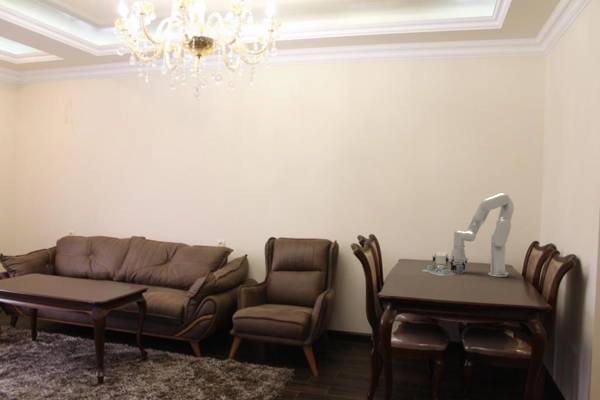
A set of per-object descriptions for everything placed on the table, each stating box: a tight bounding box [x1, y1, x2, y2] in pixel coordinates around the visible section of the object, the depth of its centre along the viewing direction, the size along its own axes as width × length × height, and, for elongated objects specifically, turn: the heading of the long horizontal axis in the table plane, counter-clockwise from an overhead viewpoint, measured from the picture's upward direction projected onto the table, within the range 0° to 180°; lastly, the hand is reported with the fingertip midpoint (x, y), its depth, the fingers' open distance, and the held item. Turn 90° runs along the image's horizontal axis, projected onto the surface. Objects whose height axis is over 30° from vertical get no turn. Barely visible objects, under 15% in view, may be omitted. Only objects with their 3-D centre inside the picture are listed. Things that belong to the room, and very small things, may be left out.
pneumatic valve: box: [432, 253, 450, 270], centre depth 360 cm, size 6×12×12 cm, turn 76°
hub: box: [452, 263, 465, 275], centre depth 344 cm, size 7×7×6 cm
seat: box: [421, 264, 456, 277], centre depth 342 cm, size 20×14×6 cm
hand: (457, 270), depth 344 cm, fingers open, 9 cm apart
